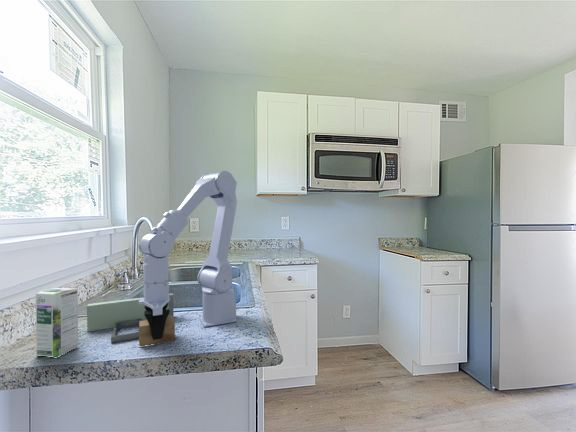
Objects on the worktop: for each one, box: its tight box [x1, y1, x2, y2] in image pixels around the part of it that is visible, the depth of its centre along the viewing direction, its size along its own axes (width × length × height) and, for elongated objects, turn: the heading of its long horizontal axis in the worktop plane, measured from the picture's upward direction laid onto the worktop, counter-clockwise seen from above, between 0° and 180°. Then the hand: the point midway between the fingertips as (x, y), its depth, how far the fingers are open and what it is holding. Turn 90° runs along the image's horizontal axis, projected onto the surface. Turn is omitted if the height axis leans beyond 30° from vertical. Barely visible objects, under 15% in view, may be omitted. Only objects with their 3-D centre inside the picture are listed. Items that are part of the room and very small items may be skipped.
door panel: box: [86, 292, 175, 332], centre depth 86 cm, size 22×2×7 cm, turn 116°
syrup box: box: [35, 287, 79, 357], centre depth 68 cm, size 6×6×14 cm
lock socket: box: [110, 319, 142, 344], centre depth 79 cm, size 7×11×2 cm, turn 26°
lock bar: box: [138, 316, 176, 347], centre depth 74 cm, size 8×4×5 cm, turn 116°
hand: (157, 335), depth 74 cm, fingers closed on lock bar, 4 cm apart
